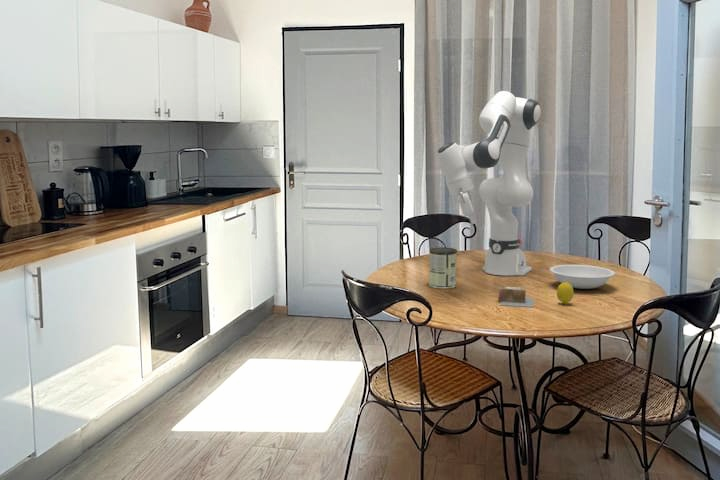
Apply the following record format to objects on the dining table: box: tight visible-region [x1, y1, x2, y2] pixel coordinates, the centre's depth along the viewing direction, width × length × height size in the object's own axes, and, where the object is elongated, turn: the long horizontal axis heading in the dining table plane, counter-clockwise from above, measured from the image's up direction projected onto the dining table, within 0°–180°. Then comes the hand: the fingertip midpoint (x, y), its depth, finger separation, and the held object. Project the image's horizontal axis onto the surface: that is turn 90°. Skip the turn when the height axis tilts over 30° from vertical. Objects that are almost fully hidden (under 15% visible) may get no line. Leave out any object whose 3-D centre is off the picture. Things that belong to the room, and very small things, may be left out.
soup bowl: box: [549, 264, 616, 290], centre depth 287 cm, size 24×24×7 cm
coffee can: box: [428, 246, 458, 290], centre depth 287 cm, size 10×10×14 cm
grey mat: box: [499, 296, 534, 308], centre depth 264 cm, size 11×14×1 cm
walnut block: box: [498, 285, 527, 303], centre depth 264 cm, size 5×4×9 cm
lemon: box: [556, 282, 574, 305], centre depth 261 cm, size 6×6×8 cm
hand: (474, 223), depth 272 cm, fingers closed
